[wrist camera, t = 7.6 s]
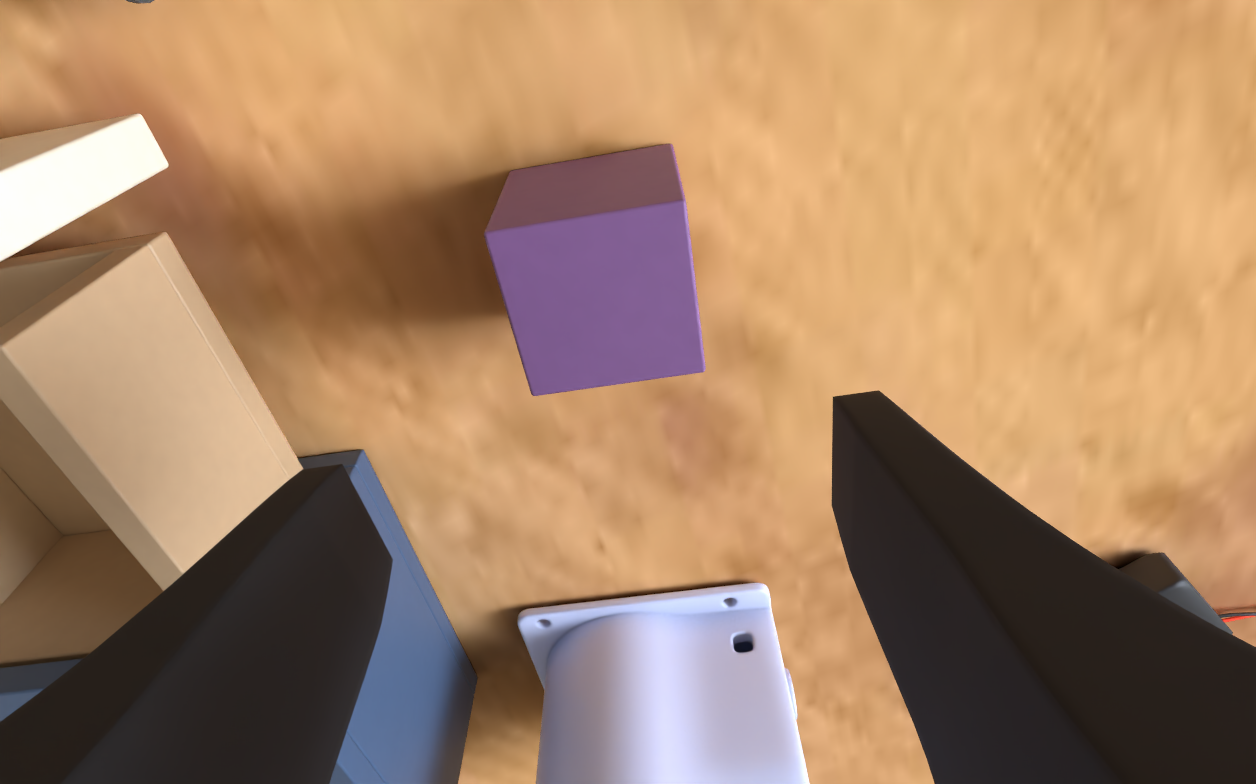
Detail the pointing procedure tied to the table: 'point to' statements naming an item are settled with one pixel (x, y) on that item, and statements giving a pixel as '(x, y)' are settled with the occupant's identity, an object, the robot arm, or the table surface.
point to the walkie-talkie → (140, 1)
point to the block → (598, 270)
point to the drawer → (110, 403)
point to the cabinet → (371, 667)
